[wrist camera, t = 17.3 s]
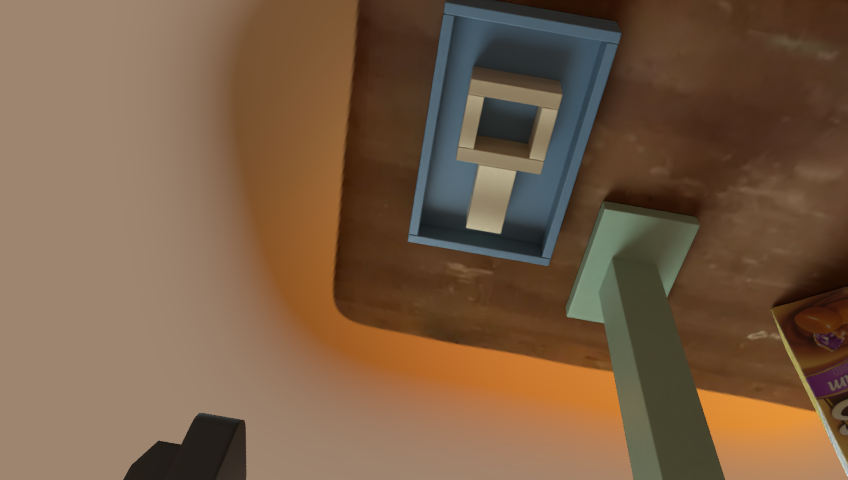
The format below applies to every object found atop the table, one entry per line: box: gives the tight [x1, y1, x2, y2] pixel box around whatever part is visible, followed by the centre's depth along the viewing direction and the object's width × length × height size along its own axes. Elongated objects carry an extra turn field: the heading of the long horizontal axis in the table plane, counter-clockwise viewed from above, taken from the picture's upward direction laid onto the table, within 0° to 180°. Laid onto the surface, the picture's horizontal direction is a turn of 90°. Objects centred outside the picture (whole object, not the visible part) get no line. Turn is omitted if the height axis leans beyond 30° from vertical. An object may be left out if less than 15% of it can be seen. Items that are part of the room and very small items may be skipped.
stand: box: [566, 201, 725, 480], centre depth 31 cm, size 9×6×32 cm, turn 172°
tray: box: [408, 0, 622, 266], centre depth 39 cm, size 15×9×2 cm, turn 172°
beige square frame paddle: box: [456, 66, 563, 234], centre depth 39 cm, size 10×5×2 cm, turn 172°
